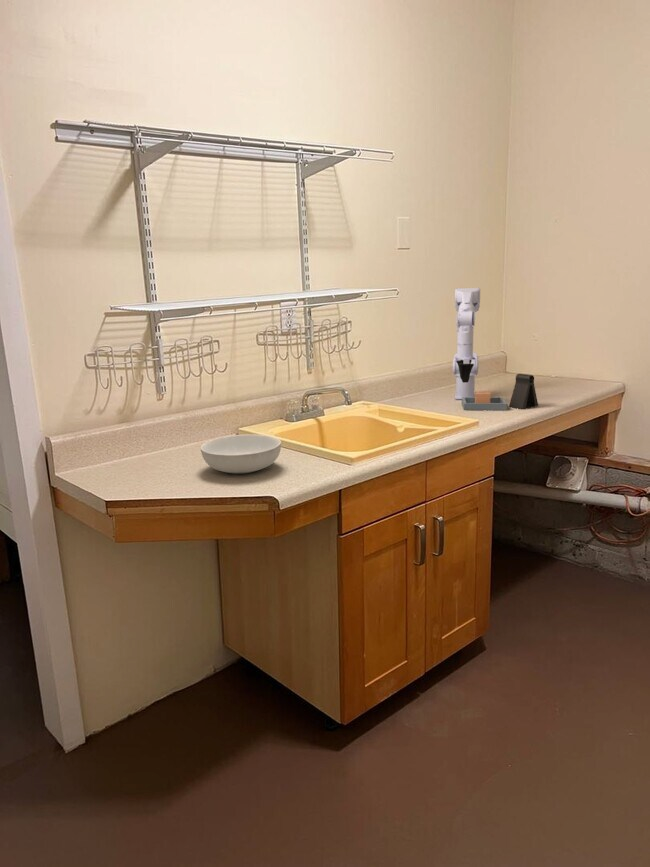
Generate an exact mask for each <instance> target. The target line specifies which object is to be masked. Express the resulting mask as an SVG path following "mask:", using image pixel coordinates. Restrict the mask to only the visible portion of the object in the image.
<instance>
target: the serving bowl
mask: <svg viewBox="0 0 650 867" xmlns="http://www.w3.org/2000/svg"><path fill="white" fill-rule="evenodd" d="M281 447H282V441H281V439H279V438H277V437H275V436H273V435H265V434H233V435H228V436H227V435H225V436H222V437H218V438H214V439H211V440H207V441H206V442H204V443H202V444H201V446H200V447H199V448H200V452H201V455H202V458H203V460H204V462H205V463H206V464H207V465H208V466H209V467H211V468H212V469H215V470H216V471H218V472H219V471H220V472H222V473H228V474H237V475H238V474H250V473H254V472H256V471H260V470H264V469H265V468H268V467H269V466H271V465H272V464H273V463H274V462H275V461H276V460H277V459H278V458H279V456H280V453H281Z"/></svg>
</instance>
